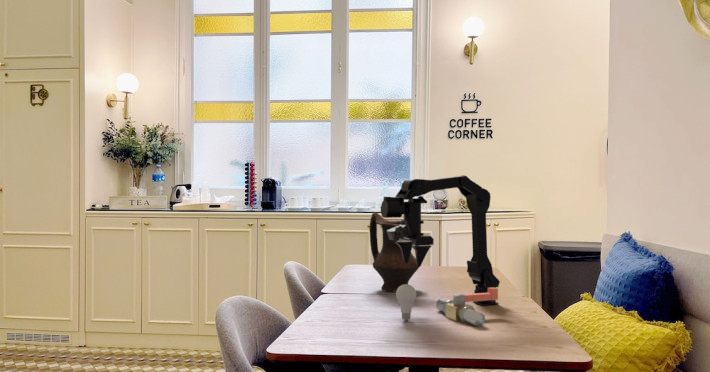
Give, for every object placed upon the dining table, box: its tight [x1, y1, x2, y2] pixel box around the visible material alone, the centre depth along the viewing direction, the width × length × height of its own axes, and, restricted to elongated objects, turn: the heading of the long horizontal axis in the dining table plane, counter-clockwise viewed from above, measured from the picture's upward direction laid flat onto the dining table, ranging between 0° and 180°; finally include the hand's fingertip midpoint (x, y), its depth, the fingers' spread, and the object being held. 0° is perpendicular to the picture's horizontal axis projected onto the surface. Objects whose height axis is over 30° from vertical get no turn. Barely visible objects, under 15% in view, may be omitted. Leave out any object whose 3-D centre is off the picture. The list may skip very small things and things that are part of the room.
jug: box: [369, 212, 420, 293], centre depth 219 cm, size 21×18×30 cm
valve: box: [435, 297, 486, 327], centre depth 170 cm, size 6×22×5 cm, turn 20°
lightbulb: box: [395, 283, 417, 322], centre depth 166 cm, size 6×6×11 cm
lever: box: [452, 287, 499, 305], centre depth 172 cm, size 15×4×4 cm, turn 110°
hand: (412, 264), depth 182 cm, fingers open, 9 cm apart
